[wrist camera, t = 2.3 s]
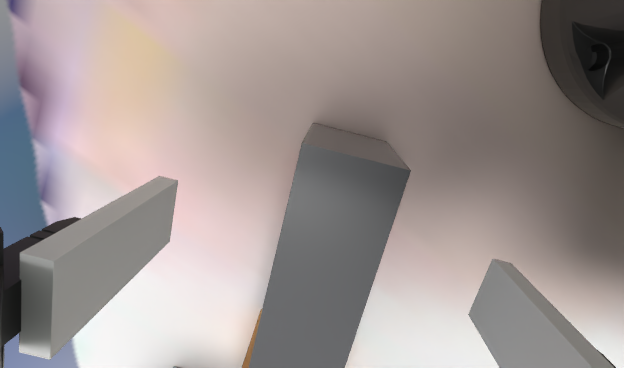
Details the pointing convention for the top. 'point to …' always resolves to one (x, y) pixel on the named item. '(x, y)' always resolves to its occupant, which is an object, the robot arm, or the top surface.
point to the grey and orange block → (327, 250)
